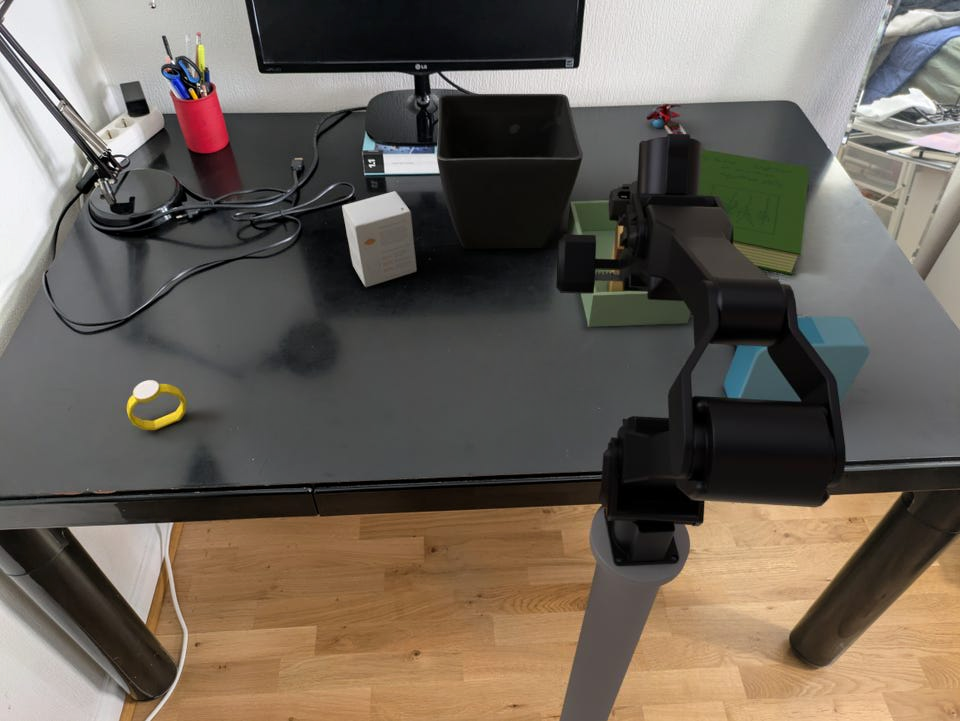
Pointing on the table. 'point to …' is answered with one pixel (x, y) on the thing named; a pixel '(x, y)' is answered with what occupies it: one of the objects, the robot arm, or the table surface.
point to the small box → (380, 238)
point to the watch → (148, 393)
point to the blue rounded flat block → (829, 339)
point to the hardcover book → (759, 205)
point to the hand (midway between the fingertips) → (630, 275)
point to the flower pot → (506, 166)
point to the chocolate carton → (616, 253)
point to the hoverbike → (665, 119)
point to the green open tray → (601, 303)
